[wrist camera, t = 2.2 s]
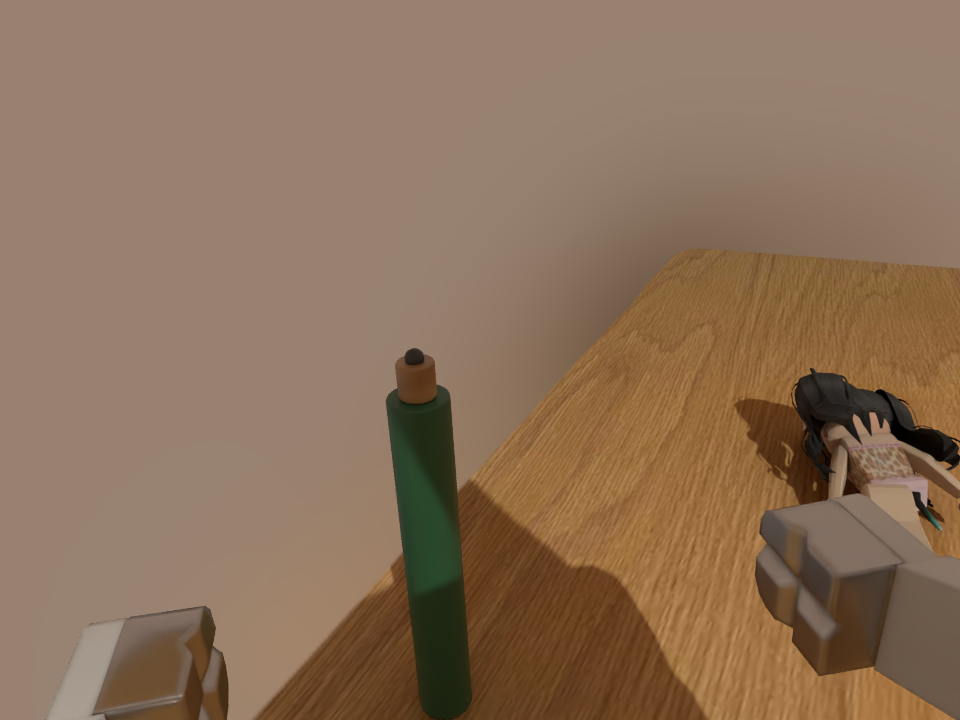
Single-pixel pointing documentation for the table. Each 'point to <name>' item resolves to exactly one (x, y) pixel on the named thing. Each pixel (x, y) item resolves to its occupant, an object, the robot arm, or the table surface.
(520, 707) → the table surface
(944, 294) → the table surface
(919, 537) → the toy figure
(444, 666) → the pencil
